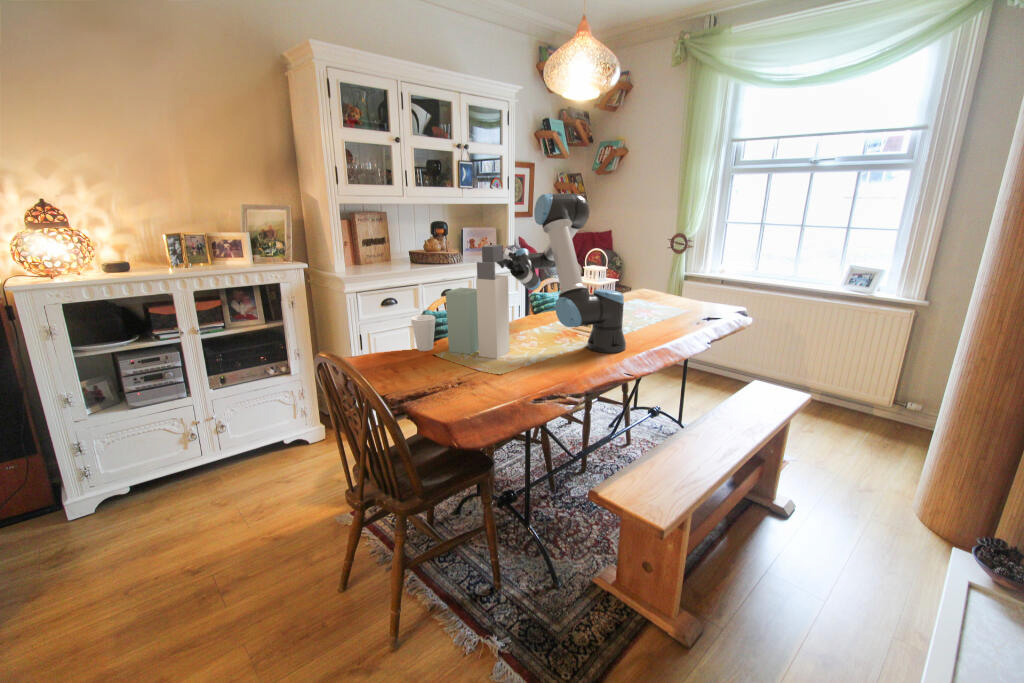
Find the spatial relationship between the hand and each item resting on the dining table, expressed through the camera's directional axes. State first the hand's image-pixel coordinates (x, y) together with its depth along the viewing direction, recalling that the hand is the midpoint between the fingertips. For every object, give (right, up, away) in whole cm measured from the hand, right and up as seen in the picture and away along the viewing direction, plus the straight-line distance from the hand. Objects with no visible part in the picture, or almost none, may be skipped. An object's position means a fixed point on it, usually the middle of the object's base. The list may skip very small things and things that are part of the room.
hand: (498, 250), depth 189 cm
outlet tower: (-1, -41, -5) cm, 42 cm away
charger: (0, -4, +1) cm, 4 cm away
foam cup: (-30, -40, +3) cm, 50 cm away
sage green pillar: (-13, -40, +1) cm, 42 cm away
